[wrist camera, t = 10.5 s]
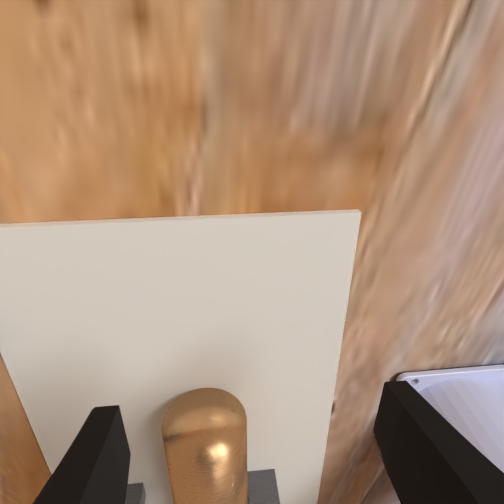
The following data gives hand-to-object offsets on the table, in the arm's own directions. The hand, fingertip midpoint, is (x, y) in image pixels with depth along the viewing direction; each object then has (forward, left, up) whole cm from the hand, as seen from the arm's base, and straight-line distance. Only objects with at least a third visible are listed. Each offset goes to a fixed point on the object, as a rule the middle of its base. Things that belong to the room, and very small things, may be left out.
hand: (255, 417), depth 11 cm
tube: (+3, +18, -8) cm, 20 cm away
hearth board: (+3, +12, -9) cm, 16 cm away
